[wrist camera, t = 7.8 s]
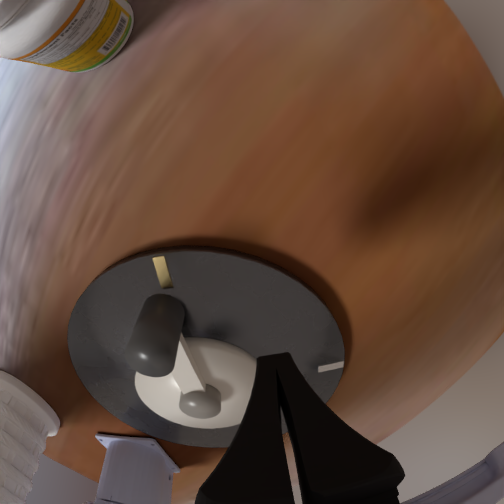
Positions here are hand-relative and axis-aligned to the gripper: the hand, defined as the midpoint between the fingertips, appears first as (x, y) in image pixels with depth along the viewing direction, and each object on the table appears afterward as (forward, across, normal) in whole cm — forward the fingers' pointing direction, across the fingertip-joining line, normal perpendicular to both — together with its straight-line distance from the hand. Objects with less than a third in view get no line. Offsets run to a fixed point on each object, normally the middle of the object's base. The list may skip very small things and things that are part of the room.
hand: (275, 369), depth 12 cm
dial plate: (+7, +5, +7) cm, 12 cm away
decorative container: (+8, +31, +13) cm, 35 cm away
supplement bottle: (+7, +7, -18) cm, 20 cm away
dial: (+6, +6, +6) cm, 10 cm away
